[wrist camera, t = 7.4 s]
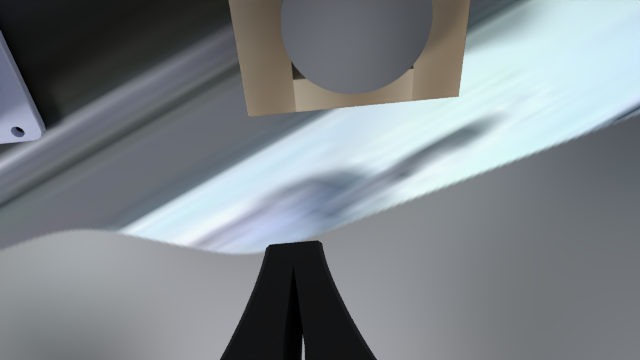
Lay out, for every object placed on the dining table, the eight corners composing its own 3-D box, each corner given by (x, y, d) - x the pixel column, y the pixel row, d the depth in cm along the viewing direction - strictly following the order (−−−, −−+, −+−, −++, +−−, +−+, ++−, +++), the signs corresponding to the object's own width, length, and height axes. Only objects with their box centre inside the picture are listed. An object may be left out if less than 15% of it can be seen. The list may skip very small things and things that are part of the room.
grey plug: (286, 58, 19) (288, 100, 16) (271, -74, 17) (272, -52, 14) (403, 47, 20) (427, 87, 17) (409, -86, 17) (439, -66, 14)
